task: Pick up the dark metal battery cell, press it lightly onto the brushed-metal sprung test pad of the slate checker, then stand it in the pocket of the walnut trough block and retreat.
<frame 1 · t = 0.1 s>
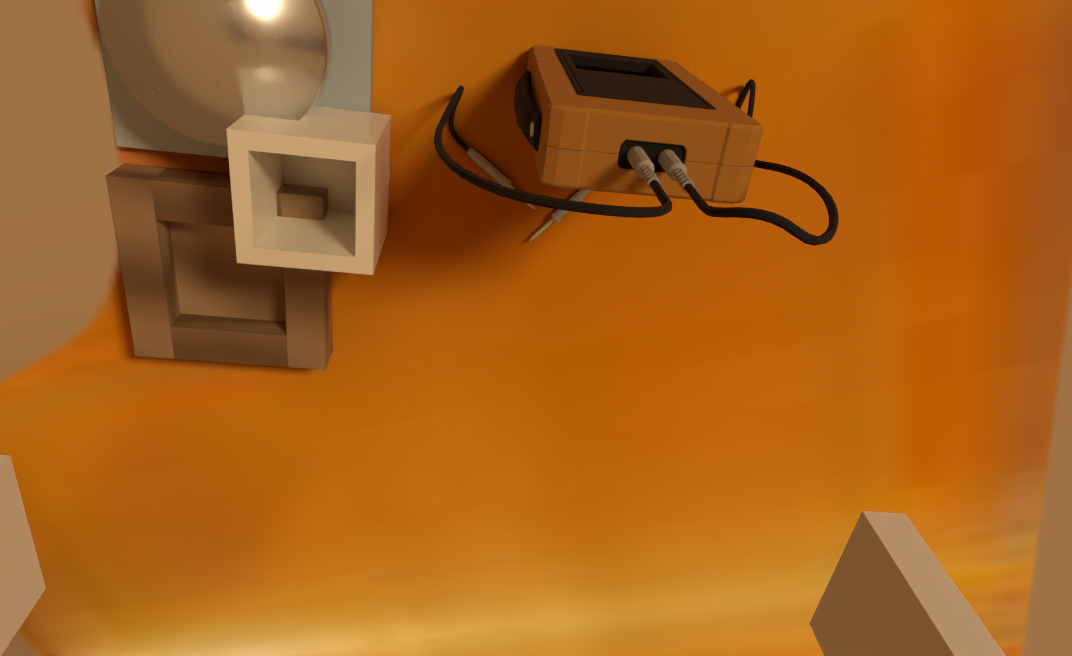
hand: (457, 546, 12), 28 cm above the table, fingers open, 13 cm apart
trough: (236, 264, 39), on the table
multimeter: (589, 153, 37), on the table
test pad: (220, 36, 31), point 3 cm above the table, slide at 0.0 cm, touching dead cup
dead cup: (330, 165, 37), on the table
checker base: (239, 28, 33), on the table
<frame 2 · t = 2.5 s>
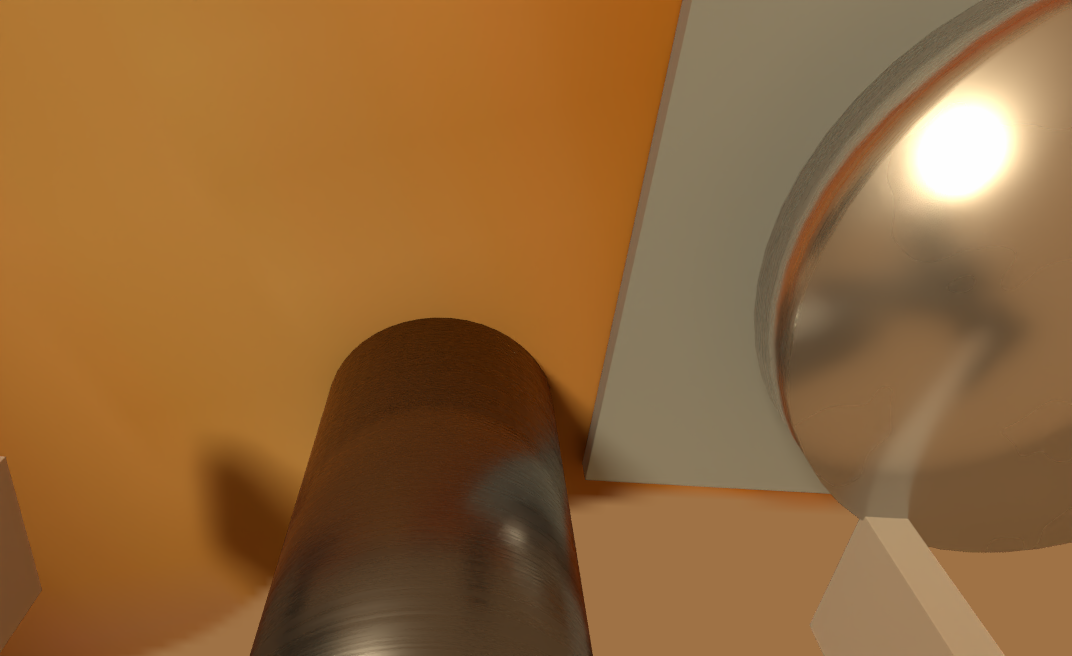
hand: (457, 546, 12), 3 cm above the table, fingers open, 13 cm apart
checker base: (963, 225, 13), on the table
cell: (442, 414, 14), on the table
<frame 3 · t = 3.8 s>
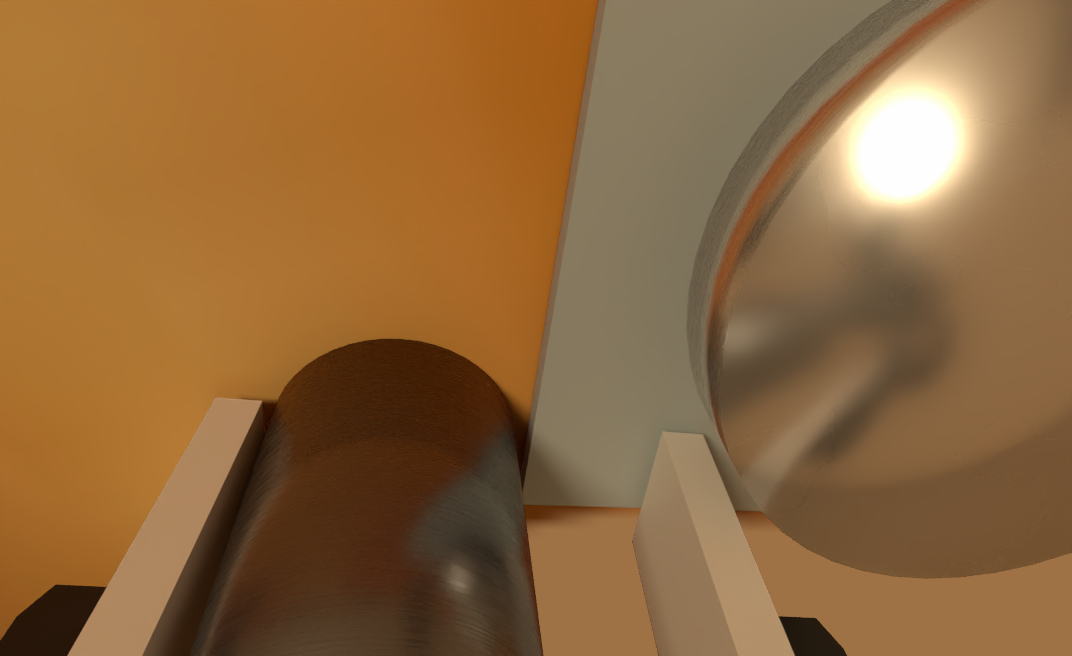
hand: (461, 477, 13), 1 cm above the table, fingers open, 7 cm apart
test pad: (1026, 304, 10), point 3 cm above the table, slide at 0.0 cm, touching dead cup
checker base: (914, 228, 12), on the table
cell: (394, 441, 13), on the table, touching gripper
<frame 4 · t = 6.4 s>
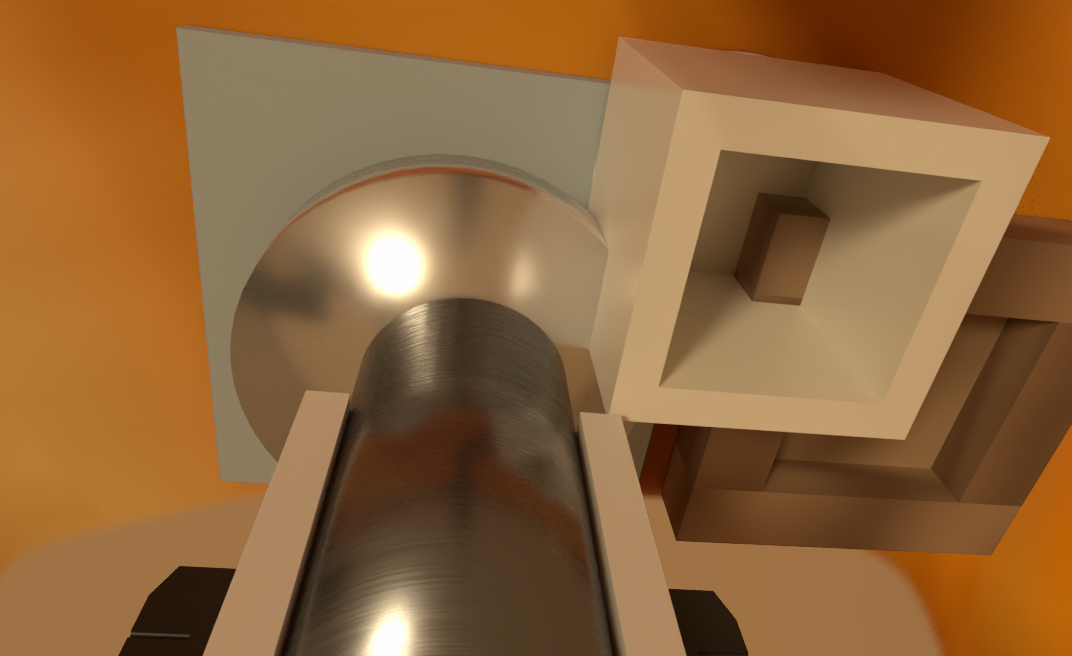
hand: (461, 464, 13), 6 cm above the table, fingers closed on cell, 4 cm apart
trough: (866, 370, 21), on the table
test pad: (447, 359, 16), point 3 cm above the table, slide at 0.0 cm, touching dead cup
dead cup: (711, 180, 18), on the table
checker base: (450, 303, 19), on the table
cell: (463, 390, 15), point 4 cm above the table, touching gripper
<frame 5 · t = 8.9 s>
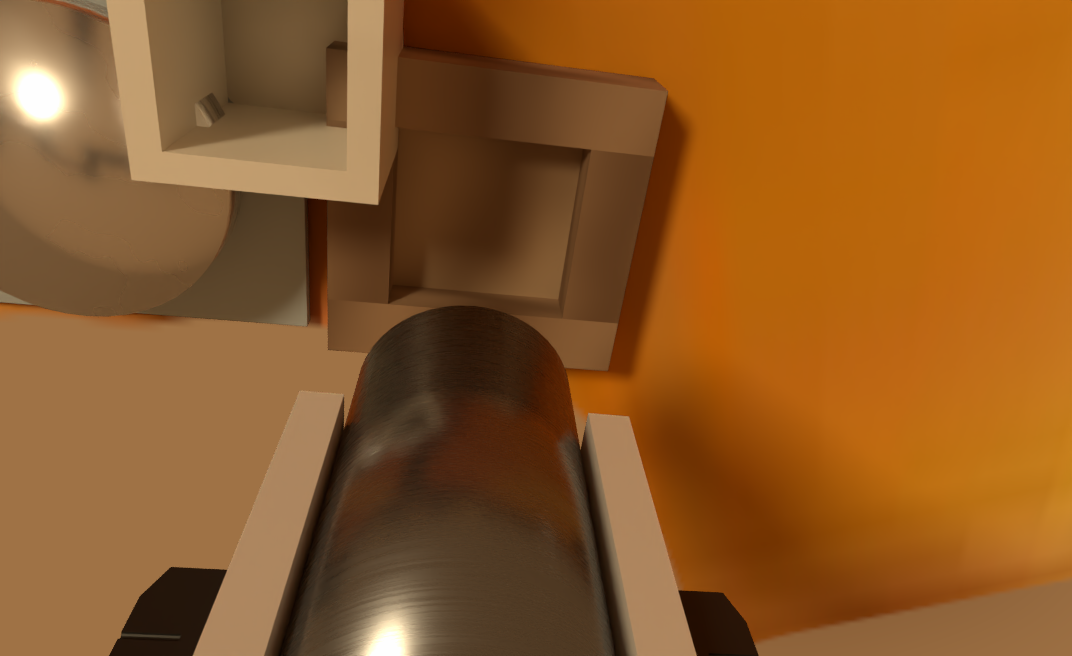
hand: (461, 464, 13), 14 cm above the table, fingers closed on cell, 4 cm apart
trough: (484, 208, 25), on the table
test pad: (72, 166, 21), point 3 cm above the table, slide at 0.0 cm, touching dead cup
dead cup: (304, 33, 22), on the table
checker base: (114, 141, 23), on the table
cell: (464, 398, 15), point 12 cm above the table, touching gripper
when the fingers open (4 cm above the table, at t = 11.0 s): cell drops 1 cm, resting on trough.
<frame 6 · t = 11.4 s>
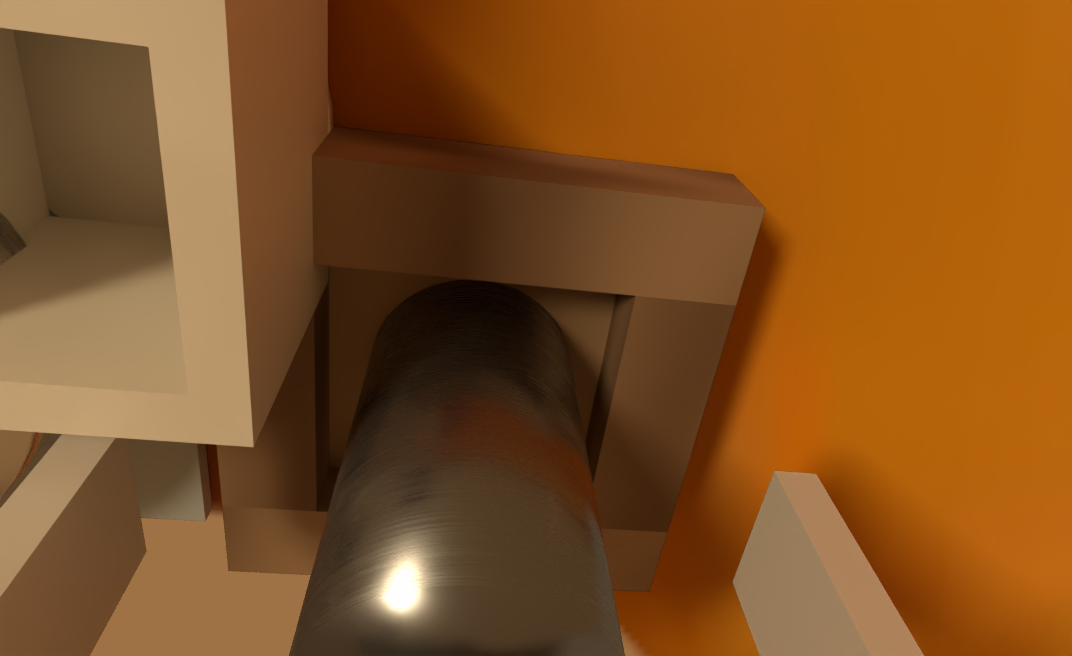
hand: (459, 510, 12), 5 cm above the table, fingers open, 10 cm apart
trough: (466, 360, 17), on the table
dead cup: (170, 106, 14), on the table
cell: (471, 368, 16), resting on trough
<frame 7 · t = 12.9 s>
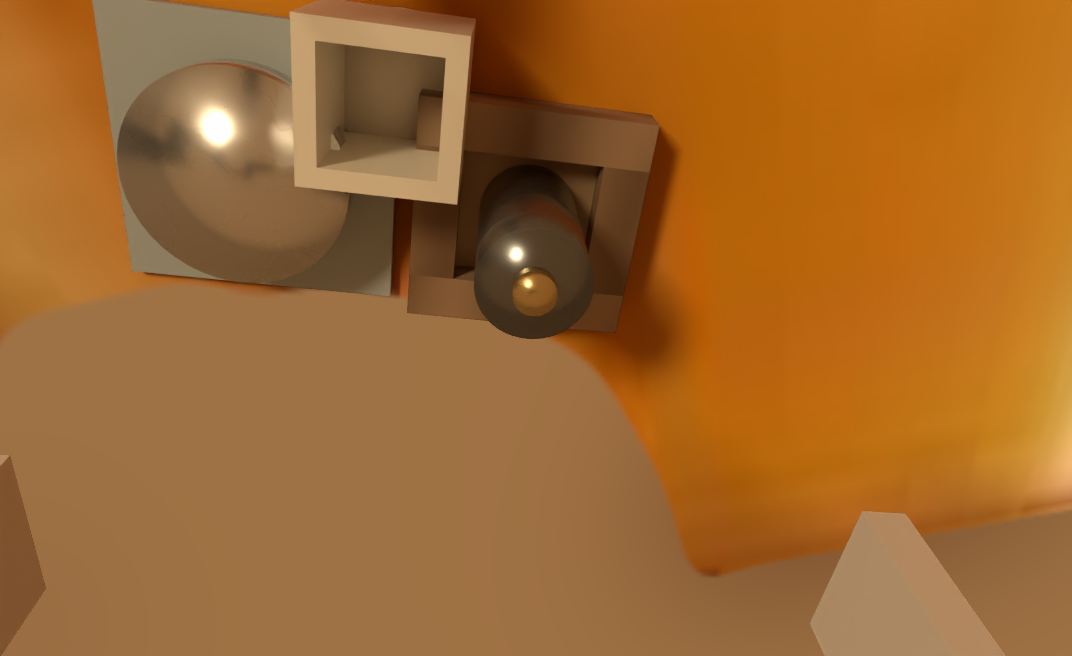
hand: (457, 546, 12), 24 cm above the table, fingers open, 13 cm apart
trough: (524, 209, 34), on the table
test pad: (240, 176, 30), point 3 cm above the table, slide at 0.0 cm, touching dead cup
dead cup: (399, 82, 31), on the table
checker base: (260, 158, 32), on the table
cell: (527, 211, 33), resting on trough
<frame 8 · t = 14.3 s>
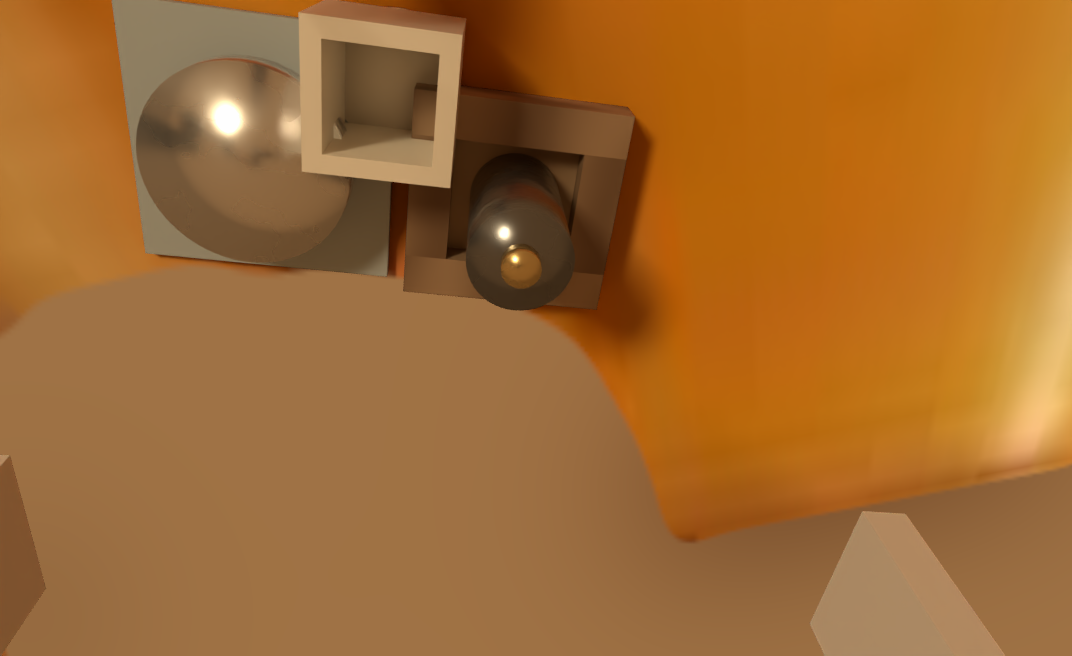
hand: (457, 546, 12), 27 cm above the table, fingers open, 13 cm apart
trough: (511, 194, 37), on the table
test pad: (249, 163, 32), point 3 cm above the table, slide at 0.0 cm, touching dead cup
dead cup: (396, 77, 33), on the table
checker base: (266, 147, 35), on the table
cell: (514, 196, 36), resting on trough
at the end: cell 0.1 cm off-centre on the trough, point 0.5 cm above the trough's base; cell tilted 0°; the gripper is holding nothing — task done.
